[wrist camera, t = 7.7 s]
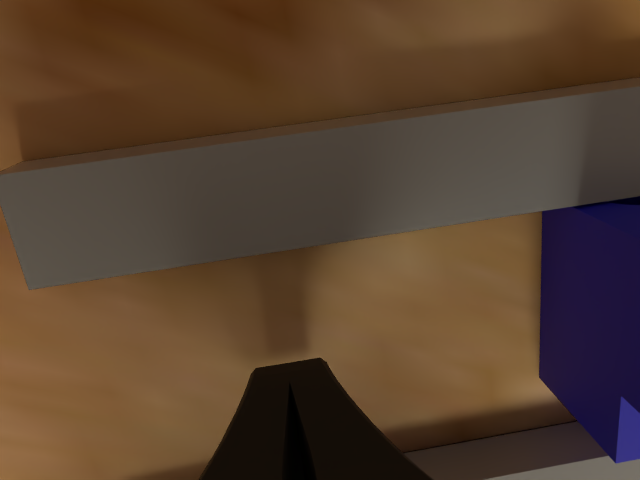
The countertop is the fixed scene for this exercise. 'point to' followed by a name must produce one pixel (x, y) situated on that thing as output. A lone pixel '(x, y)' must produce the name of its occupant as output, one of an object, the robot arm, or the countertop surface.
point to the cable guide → (341, 210)
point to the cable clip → (594, 319)
